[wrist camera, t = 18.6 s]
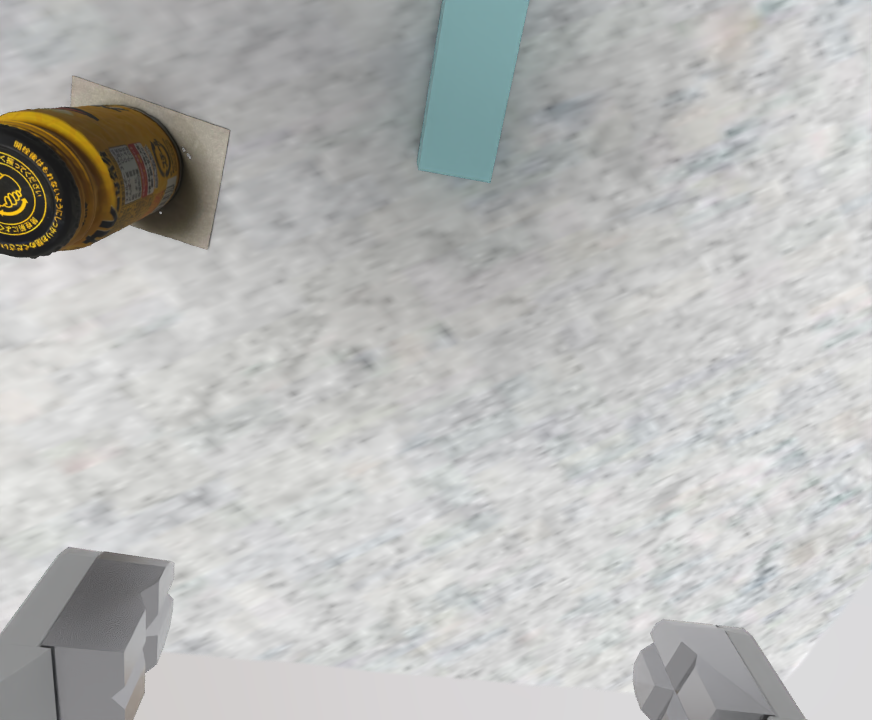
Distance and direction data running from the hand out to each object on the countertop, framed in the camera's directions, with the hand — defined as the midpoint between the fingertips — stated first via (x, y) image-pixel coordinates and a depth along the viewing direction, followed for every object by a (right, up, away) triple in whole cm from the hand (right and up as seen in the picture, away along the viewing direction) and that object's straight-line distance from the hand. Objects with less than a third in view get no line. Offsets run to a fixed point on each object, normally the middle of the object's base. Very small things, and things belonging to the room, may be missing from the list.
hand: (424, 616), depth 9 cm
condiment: (-17, +16, +24) cm, 33 cm away
